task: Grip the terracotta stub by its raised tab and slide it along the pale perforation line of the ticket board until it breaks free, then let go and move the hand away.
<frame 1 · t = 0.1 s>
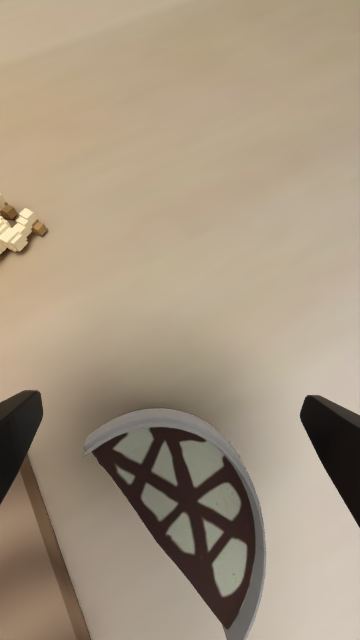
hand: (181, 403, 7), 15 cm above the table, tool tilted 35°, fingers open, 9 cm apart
food container: (177, 440, 21), on the table
ticket board: (5, 574, 17), on the table
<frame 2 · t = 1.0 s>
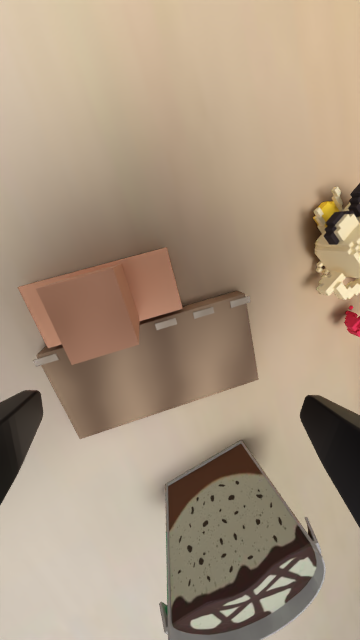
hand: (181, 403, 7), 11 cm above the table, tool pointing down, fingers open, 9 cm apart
food container: (215, 476, 25), on the table
ticket board: (158, 360, 19), on the table
stub: (102, 304, 14), point 3 cm above the table, slide at 0.0 cm
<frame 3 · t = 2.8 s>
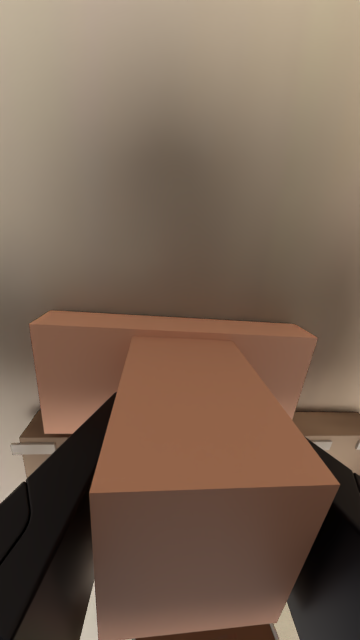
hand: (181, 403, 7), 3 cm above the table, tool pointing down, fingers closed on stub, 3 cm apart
food container: (201, 610, 18), on the table
ticket board: (202, 470, 12), on the table
stub: (183, 422, 7), point 3 cm above the table, slide at 0.0 cm, touching gripper
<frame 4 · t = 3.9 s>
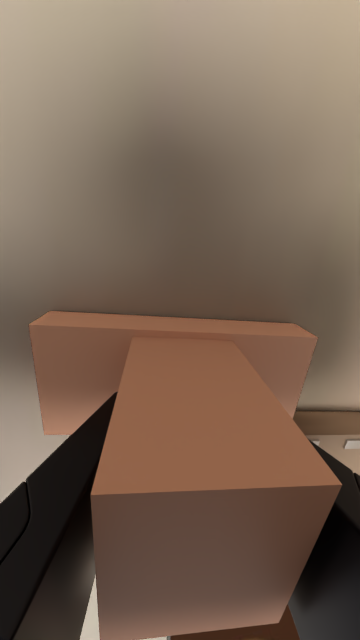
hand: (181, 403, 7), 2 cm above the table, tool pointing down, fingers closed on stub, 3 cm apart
food container: (230, 607, 18), on the table
ticket board: (243, 468, 12), on the table
stub: (184, 422, 7), point 3 cm above the table, slide at 2.4 cm, touching gripper
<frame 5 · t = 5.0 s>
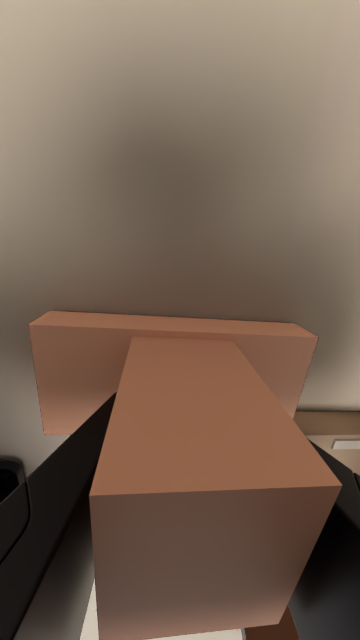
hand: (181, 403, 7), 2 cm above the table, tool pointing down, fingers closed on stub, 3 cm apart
food container: (292, 600, 19), on the table
ticket board: (330, 466, 13), on the table
stub: (184, 422, 7), point 3 cm above the table, slide at 7.7 cm, touching gripper
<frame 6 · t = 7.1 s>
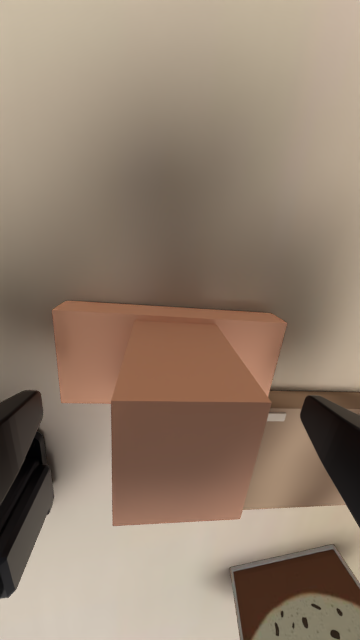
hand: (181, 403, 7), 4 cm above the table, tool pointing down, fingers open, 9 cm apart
food container: (280, 571, 21), on the table
ticket board: (311, 441, 15), on the table
stub: (175, 387, 8), point 3 cm above the table, slide at 8.0 cm
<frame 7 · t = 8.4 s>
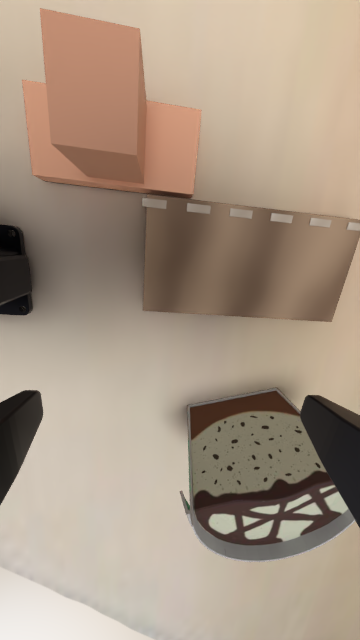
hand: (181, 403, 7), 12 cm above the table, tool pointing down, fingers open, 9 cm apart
food container: (233, 418, 24), on the table
ticket board: (244, 264, 18), on the table
stub: (110, 128, 12), point 3 cm above the table, slide at 8.0 cm
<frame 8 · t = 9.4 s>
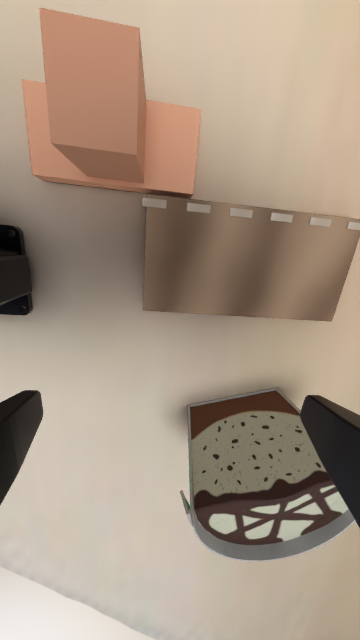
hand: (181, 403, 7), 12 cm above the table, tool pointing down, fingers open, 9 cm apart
food container: (234, 418, 24), on the table
ticket board: (244, 264, 18), on the table
stub: (109, 128, 12), point 3 cm above the table, slide at 8.0 cm
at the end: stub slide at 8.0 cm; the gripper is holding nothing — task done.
